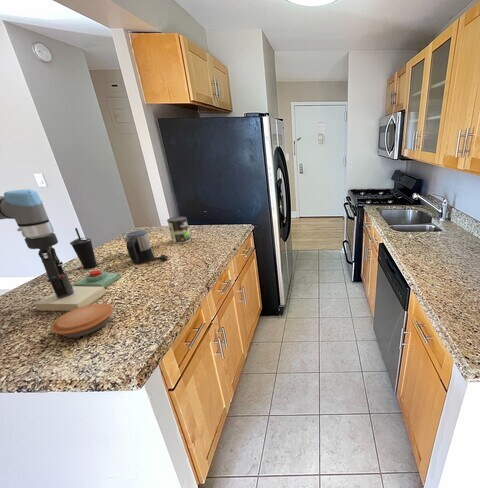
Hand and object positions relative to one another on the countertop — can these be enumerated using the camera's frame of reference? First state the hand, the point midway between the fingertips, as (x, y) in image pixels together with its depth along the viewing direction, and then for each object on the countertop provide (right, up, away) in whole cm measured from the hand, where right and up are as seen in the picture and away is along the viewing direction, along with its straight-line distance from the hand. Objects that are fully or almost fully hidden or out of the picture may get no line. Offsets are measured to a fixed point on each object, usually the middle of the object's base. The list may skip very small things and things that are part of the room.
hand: (62, 287), depth 98 cm
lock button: (0, +3, +14) cm, 14 cm away
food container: (-4, +11, +44) cm, 46 cm away
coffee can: (+11, +19, +62) cm, 66 cm away
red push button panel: (0, 0, +15) cm, 15 cm away
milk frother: (+9, +8, +36) cm, 38 cm away
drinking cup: (-16, +5, +30) cm, 34 cm away
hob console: (+2, -5, +2) cm, 6 cm away
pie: (+20, -11, -11) cm, 25 cm away
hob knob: (0, -3, +1) cm, 3 cm away
